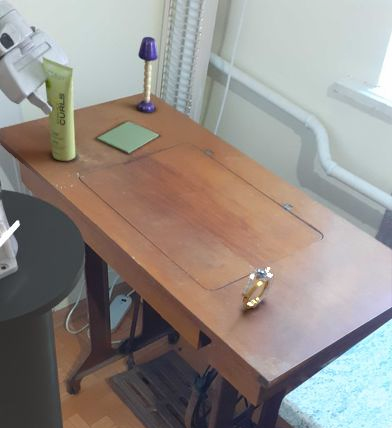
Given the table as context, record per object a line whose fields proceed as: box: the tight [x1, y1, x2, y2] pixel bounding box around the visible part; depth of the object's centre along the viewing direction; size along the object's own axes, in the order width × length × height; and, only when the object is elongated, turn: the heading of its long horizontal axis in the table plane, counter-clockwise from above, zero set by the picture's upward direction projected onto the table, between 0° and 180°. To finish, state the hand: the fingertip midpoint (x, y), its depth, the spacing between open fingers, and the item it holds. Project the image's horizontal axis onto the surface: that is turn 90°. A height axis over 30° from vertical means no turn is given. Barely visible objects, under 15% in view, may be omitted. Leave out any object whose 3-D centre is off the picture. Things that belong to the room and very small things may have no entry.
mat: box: [97, 120, 159, 154], centre depth 127 cm, size 12×9×1 cm
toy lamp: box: [137, 36, 159, 114], centre depth 132 cm, size 5×5×17 cm
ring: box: [240, 267, 275, 310], centre depth 91 cm, size 7×3×8 cm, turn 131°
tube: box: [42, 57, 76, 162], centre depth 111 cm, size 6×5×20 cm
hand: (61, 102), depth 110 cm, fingers open, 8 cm apart
